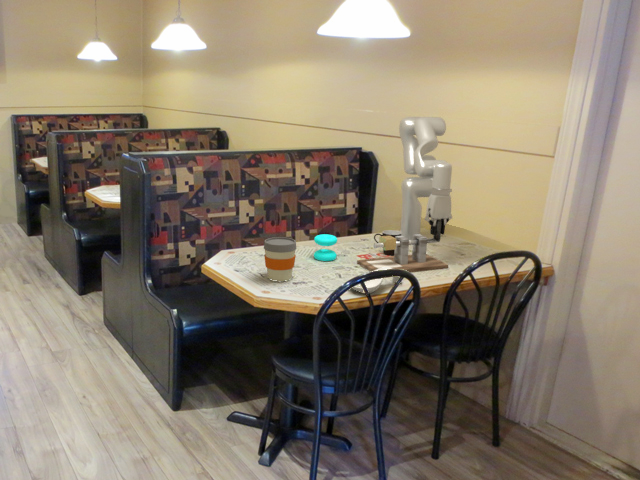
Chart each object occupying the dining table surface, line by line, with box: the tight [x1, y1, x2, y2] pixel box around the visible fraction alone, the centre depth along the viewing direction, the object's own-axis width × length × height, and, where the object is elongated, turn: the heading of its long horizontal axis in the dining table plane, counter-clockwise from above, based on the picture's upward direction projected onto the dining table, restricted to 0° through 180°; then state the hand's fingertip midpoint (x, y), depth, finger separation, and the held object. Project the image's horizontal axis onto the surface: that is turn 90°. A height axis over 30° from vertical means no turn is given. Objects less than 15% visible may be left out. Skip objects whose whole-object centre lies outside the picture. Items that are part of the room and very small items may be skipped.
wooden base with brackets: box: [356, 233, 449, 273], centre depth 248 cm, size 18×34×12 cm, turn 114°
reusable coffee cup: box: [263, 236, 297, 281], centre depth 227 cm, size 13×12×15 cm
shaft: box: [373, 219, 442, 249], centre depth 247 cm, size 3×32×10 cm, turn 114°
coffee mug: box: [373, 229, 402, 257], centre depth 267 cm, size 12×9×10 cm
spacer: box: [378, 235, 396, 250], centre depth 244 cm, size 5×5×5 cm
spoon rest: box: [352, 267, 399, 294], centre depth 221 cm, size 24×12×7 cm, turn 130°
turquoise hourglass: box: [313, 233, 338, 262], centre depth 256 cm, size 10×10×10 cm
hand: (437, 233), depth 253 cm, fingers open, 3 cm apart
